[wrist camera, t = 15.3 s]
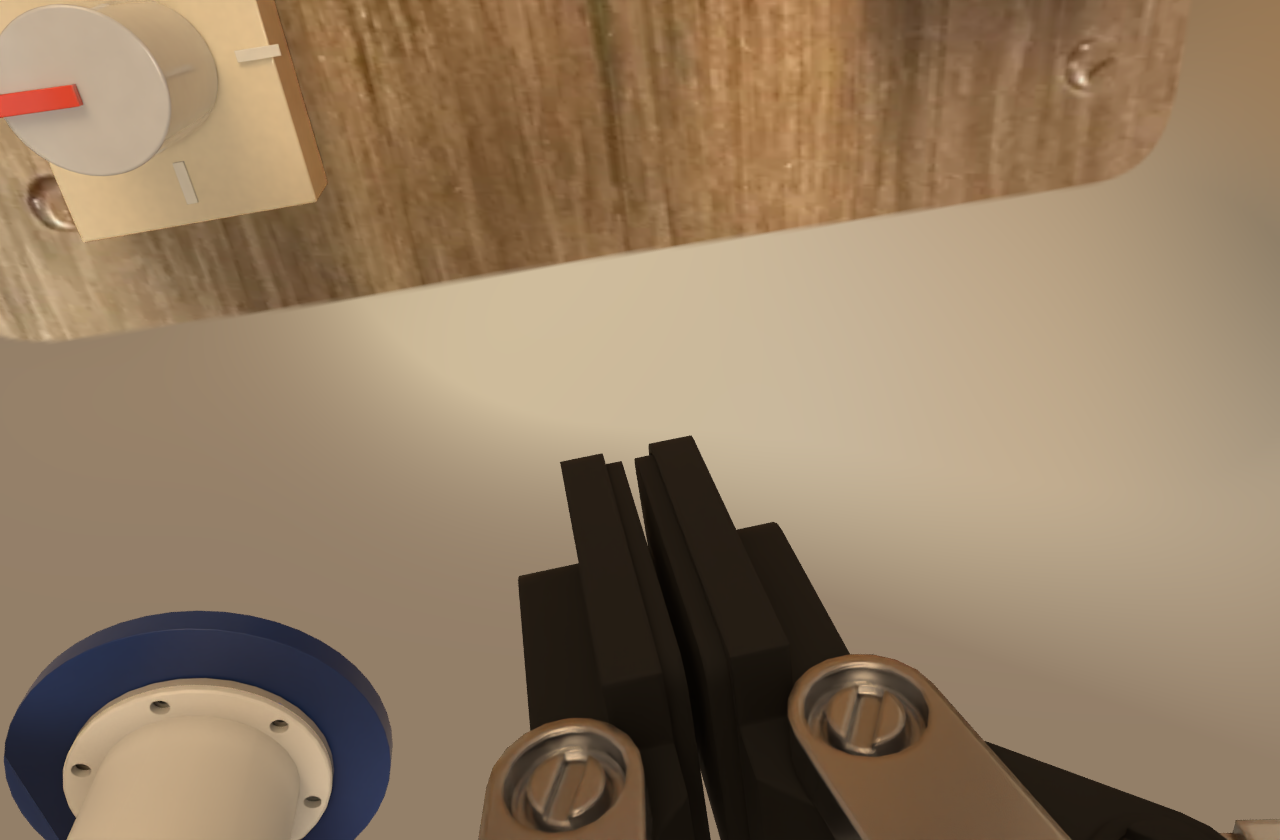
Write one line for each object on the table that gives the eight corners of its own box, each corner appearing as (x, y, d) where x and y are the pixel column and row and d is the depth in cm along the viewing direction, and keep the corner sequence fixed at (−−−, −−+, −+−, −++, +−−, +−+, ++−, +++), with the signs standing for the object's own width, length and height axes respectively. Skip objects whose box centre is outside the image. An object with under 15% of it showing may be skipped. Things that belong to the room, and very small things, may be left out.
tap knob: (191, -14, 29) (131, -7, 24) (236, 131, 31) (191, 166, 26) (45, 6, 28) (-49, 17, 23) (100, 151, 30) (26, 190, 25)
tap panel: (336, 182, 35) (325, 201, 32) (103, 222, 34) (71, 246, 31) (248, -121, 30) (226, -129, 27) (-24, -82, 29) (-74, -86, 27)
